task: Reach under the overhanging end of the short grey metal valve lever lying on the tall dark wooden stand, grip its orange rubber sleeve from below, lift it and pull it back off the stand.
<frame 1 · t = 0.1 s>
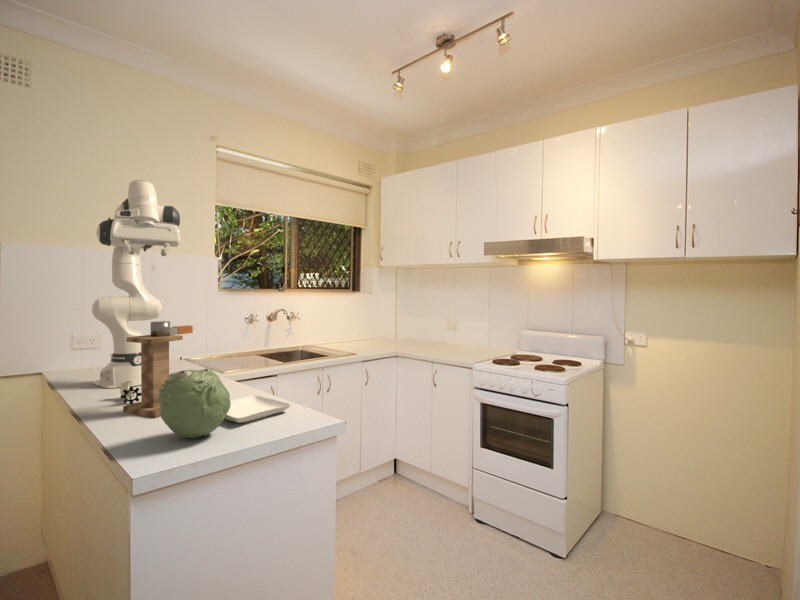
hand: (147, 254, 136), 54 cm above the countertop, tool tilted 30°, fingers open, 8 cm apart
salad plate: (247, 415, 141), on the countertop
valve: (128, 401, 155), on the countertop
valve lever: (173, 334, 149), point 26 cm above the countertop, touching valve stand
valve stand: (155, 410, 143), on the countertop
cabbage: (195, 437, 119), on the countertop
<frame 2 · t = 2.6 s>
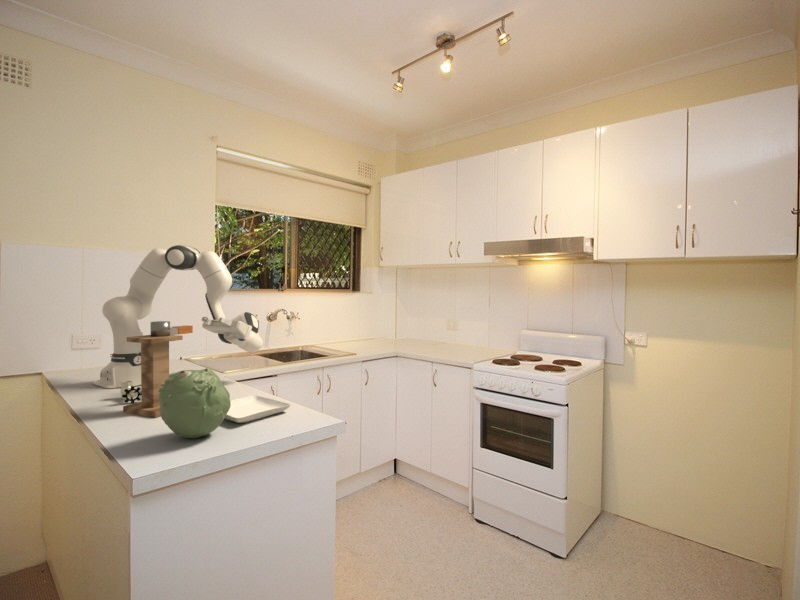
hand: (211, 318, 165), 31 cm above the countertop, tool pointing upward, fingers open, 8 cm apart
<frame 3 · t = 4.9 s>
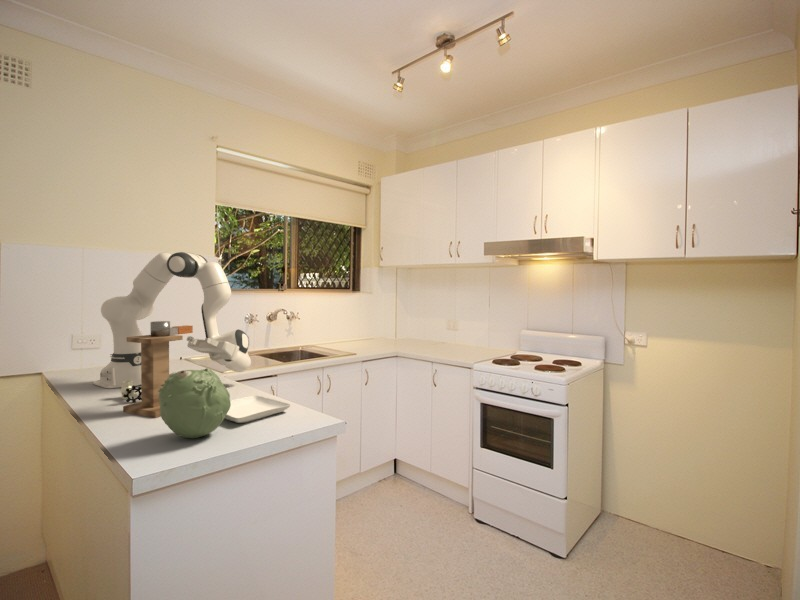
hand: (197, 338, 159), 23 cm above the countertop, tool pointing upward, fingers open, 8 cm apart
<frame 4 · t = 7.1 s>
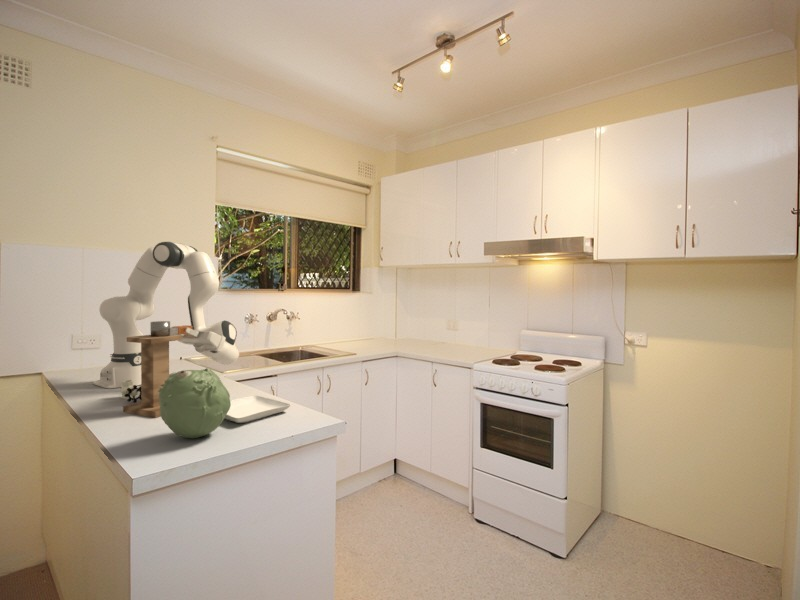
hand: (180, 328, 152), 28 cm above the countertop, tool pointing upward, fingers closed on valve lever, 3 cm apart
valve lever: (173, 334, 149), point 26 cm above the countertop, touching gripper, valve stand
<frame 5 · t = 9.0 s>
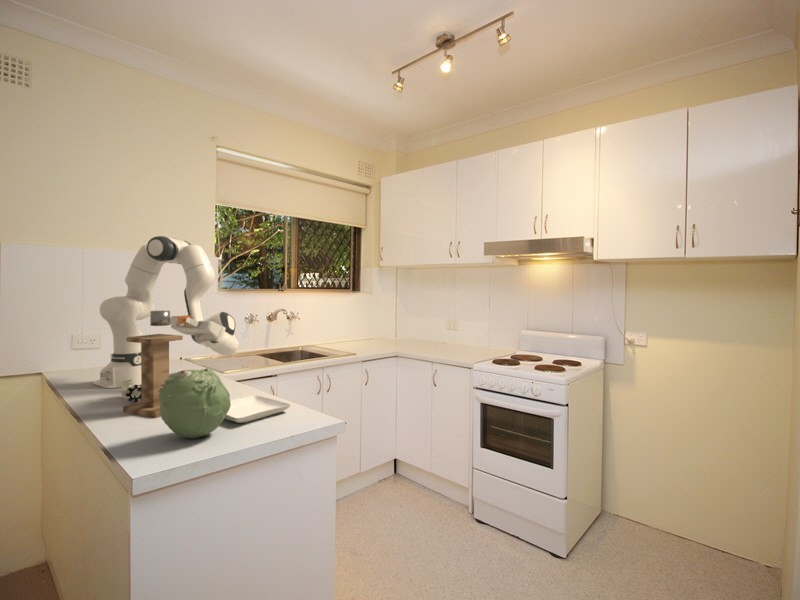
hand: (180, 318, 152), 32 cm above the countertop, tool pointing upward, fingers closed on valve lever, 3 cm apart
valve lever: (172, 324, 149), point 30 cm above the countertop, touching gripper
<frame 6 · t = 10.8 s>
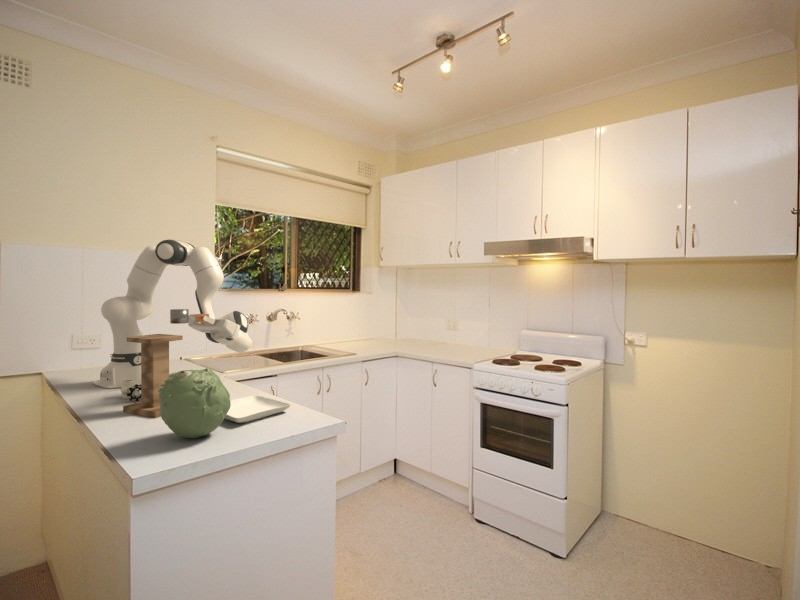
hand: (198, 316, 159), 32 cm above the countertop, tool pointing upward, fingers closed on valve lever, 3 cm apart
valve lever: (191, 321, 156), point 30 cm above the countertop, touching gripper
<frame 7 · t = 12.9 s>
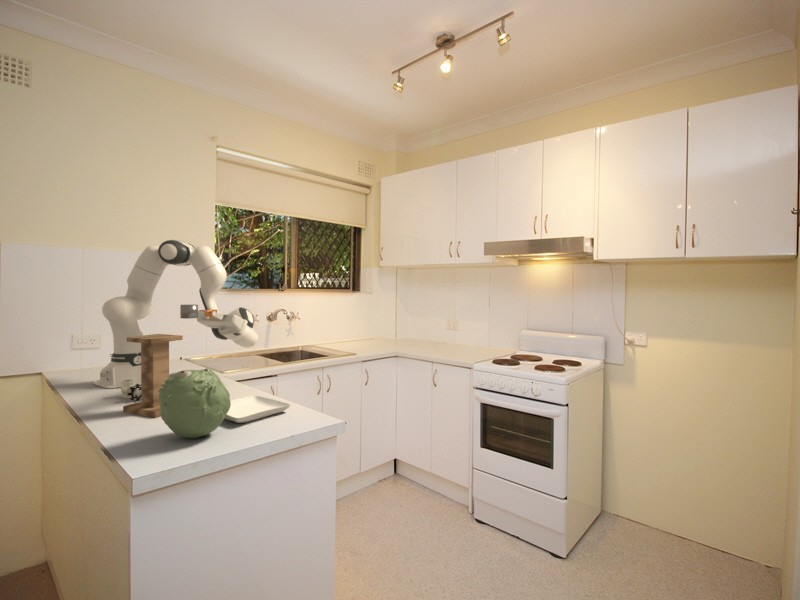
hand: (206, 312, 163), 33 cm above the countertop, tool pointing upward, fingers closed on valve lever, 3 cm apart
valve lever: (200, 317, 160), point 32 cm above the countertop, touching gripper
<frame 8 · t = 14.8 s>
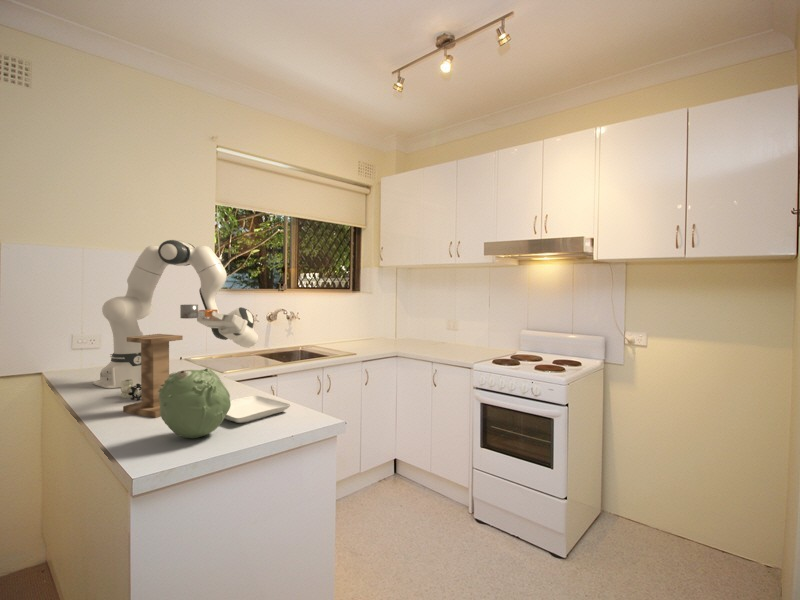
hand: (206, 312, 163), 33 cm above the countertop, tool pointing upward, fingers closed on valve lever, 3 cm apart
valve lever: (200, 317, 160), point 32 cm above the countertop, touching gripper
at the end: the gripper is holding valve lever; valve lever touching gripper; valve lever inside the target area (0.5 cm from its centre), point 31.6 cm above the countertop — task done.
